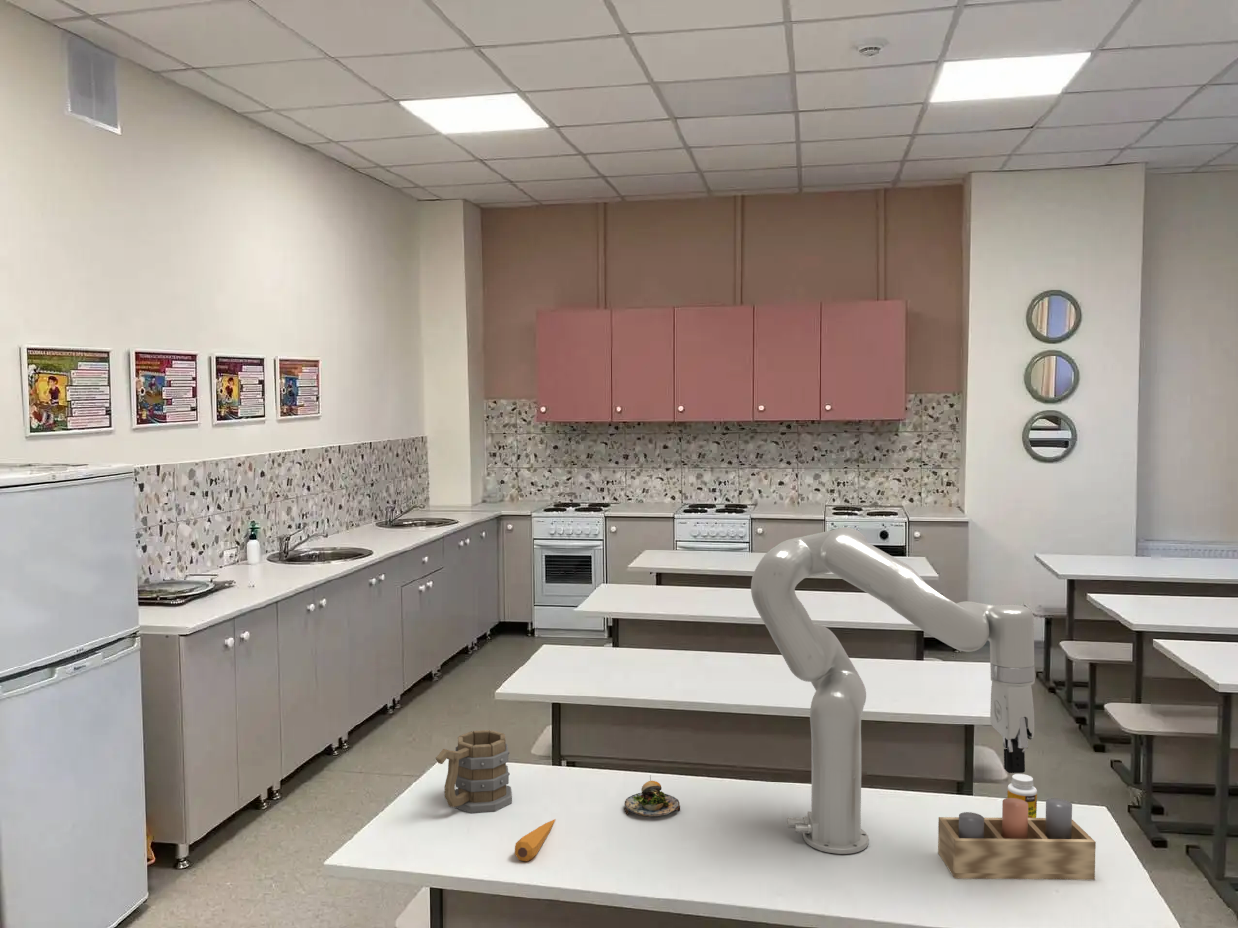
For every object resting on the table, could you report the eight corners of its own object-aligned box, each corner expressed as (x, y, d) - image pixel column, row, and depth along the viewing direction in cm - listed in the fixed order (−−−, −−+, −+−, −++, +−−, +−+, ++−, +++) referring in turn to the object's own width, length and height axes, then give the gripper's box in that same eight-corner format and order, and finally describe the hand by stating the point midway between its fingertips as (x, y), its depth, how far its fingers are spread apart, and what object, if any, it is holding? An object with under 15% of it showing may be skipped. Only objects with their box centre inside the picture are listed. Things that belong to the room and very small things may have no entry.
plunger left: (962, 859, 176) (963, 822, 176) (955, 848, 181) (955, 811, 180) (987, 859, 176) (987, 822, 176) (978, 848, 180) (979, 812, 180)
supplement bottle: (1025, 834, 191) (1026, 784, 190) (1000, 824, 196) (1001, 775, 195) (1042, 827, 194) (1043, 778, 194) (1017, 818, 199) (1018, 769, 198)
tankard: (481, 784, 218) (480, 719, 217) (523, 797, 210) (522, 730, 209) (415, 815, 201) (413, 745, 201) (457, 830, 194) (456, 757, 193)
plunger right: (1051, 845, 176) (1052, 807, 175) (1041, 834, 180) (1042, 798, 180) (1075, 845, 175) (1076, 807, 175) (1064, 834, 180) (1065, 798, 179)
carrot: (528, 869, 180) (537, 847, 179) (507, 857, 181) (516, 835, 180) (560, 833, 199) (569, 814, 199) (542, 823, 200) (550, 803, 200)
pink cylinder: (1007, 844, 176) (1007, 807, 175) (998, 834, 180) (998, 797, 180) (1031, 844, 176) (1032, 807, 175) (1021, 834, 180) (1022, 797, 180)
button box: (955, 878, 174) (955, 840, 173) (937, 852, 183) (938, 816, 183) (1094, 879, 173) (1095, 841, 172) (1070, 853, 183) (1070, 817, 182)
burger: (618, 819, 199) (618, 784, 199) (630, 797, 211) (630, 764, 210) (675, 824, 197) (675, 789, 196) (684, 801, 208) (684, 768, 208)
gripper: (978, 663, 184) (980, 757, 184) (1006, 684, 169) (1008, 787, 170) (1018, 662, 183) (1020, 756, 184) (1049, 683, 168) (1051, 786, 169)
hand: (1014, 770), depth 177 cm, fingers closed
